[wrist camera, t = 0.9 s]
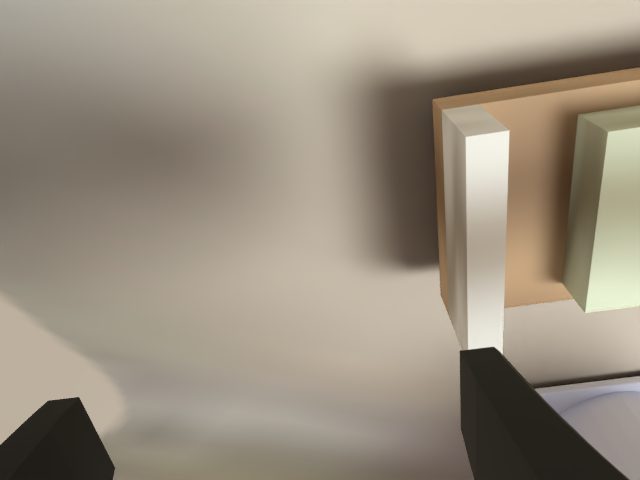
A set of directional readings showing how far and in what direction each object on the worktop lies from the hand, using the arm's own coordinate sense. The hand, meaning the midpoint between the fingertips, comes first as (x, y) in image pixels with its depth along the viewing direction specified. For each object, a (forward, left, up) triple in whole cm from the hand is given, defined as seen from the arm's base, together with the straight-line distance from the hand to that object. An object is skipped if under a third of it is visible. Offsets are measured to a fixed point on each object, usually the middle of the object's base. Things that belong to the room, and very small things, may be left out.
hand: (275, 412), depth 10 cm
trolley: (0, -9, -9) cm, 13 cm away
